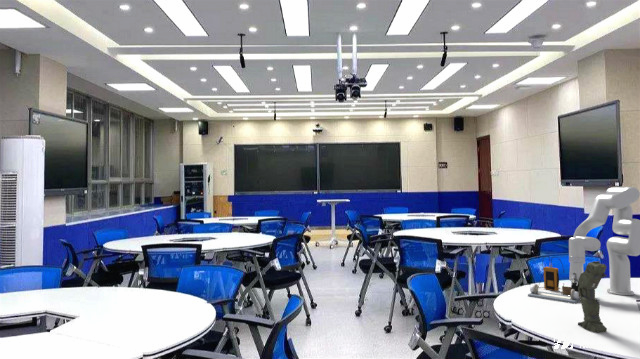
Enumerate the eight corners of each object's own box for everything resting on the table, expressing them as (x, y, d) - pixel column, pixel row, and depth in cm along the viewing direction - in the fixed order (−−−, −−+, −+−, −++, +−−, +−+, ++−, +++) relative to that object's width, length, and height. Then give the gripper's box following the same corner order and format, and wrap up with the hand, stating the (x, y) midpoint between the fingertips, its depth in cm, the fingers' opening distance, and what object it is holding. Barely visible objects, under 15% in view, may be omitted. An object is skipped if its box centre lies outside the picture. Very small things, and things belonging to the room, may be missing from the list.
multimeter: (571, 290, 247) (570, 256, 248) (563, 292, 241) (562, 257, 242) (546, 285, 259) (545, 253, 260) (537, 288, 254) (536, 254, 254)
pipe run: (535, 292, 243) (535, 281, 243) (581, 299, 227) (580, 287, 227) (527, 296, 234) (527, 285, 234) (574, 303, 218) (574, 291, 218)
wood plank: (562, 295, 235) (561, 286, 235) (562, 294, 237) (562, 285, 237) (594, 299, 226) (594, 290, 226) (595, 298, 228) (595, 289, 228)
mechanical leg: (569, 320, 188) (578, 256, 181) (584, 319, 188) (594, 256, 182) (591, 338, 174) (602, 270, 168) (607, 337, 175) (619, 269, 168)
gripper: (573, 257, 241) (573, 287, 241) (564, 260, 229) (565, 292, 228) (588, 259, 236) (589, 290, 235) (580, 262, 224) (580, 295, 223)
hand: (577, 291), depth 232 cm, fingers open, 9 cm apart
